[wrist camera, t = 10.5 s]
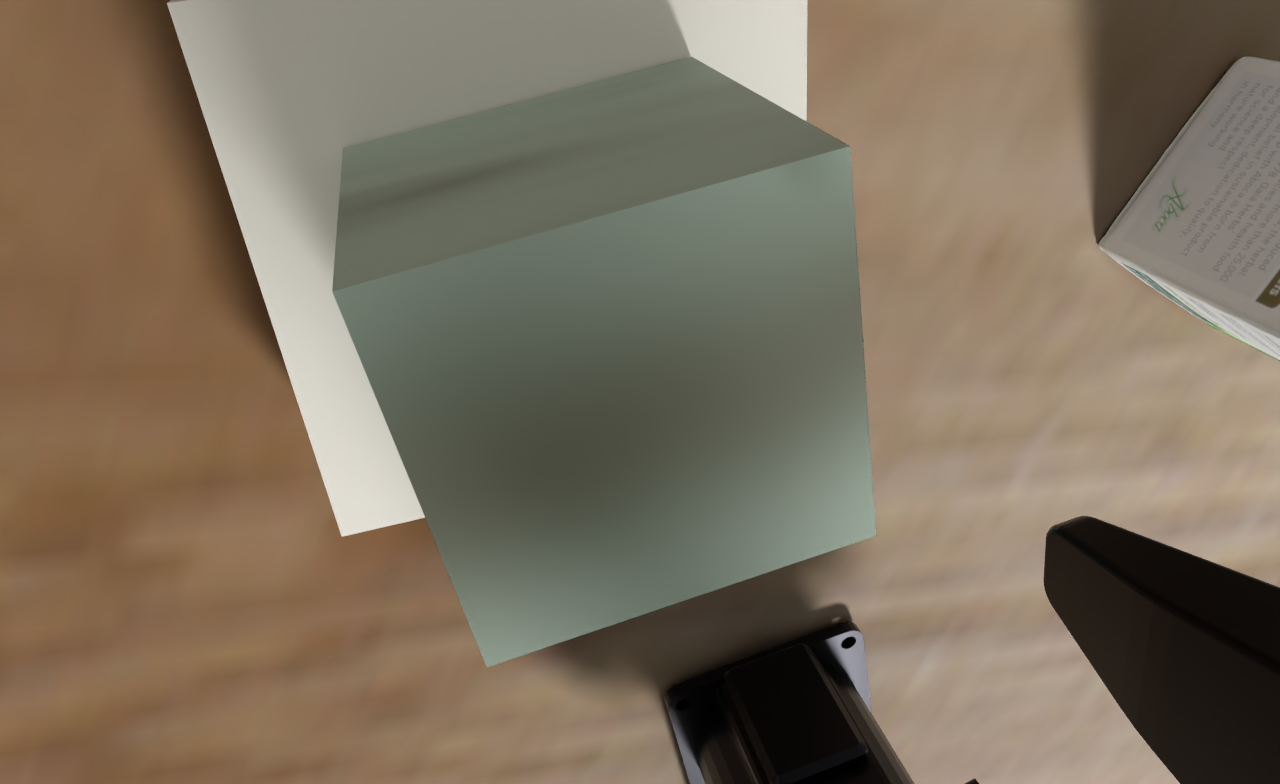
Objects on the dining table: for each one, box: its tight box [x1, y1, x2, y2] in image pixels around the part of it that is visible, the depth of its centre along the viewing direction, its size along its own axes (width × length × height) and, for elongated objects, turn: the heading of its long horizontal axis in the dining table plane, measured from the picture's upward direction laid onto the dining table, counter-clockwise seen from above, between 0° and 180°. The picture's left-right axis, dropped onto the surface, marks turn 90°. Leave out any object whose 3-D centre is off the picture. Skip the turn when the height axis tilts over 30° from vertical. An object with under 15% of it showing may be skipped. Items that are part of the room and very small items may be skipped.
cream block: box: [167, 0, 807, 536], centre depth 18 cm, size 10×10×4 cm
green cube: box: [332, 57, 876, 667], centre depth 14 cm, size 6×6×6 cm
